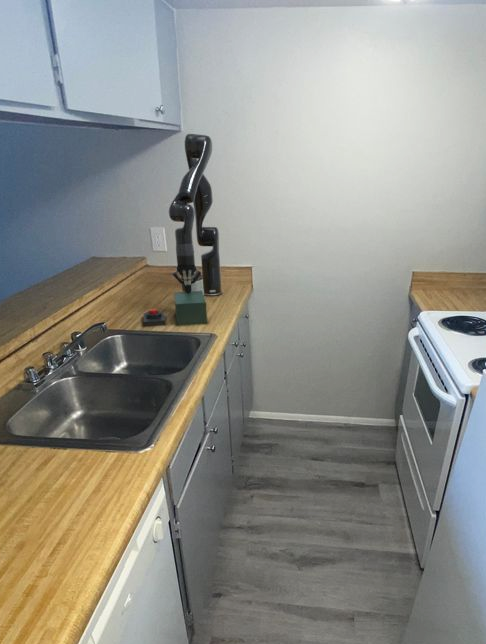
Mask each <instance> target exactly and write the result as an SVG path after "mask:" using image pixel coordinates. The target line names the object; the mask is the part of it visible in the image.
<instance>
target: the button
mask: <svg viewBox="0 0 486 644" xmlns="http://www.w3.org/2000/svg"><path fill="white" fill-rule="evenodd" d="M148 311H149V314H157V313H158V311H159V310H158V309H157V308H150V309H148Z"/></svg>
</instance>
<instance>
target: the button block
mask: <svg viewBox="0 0 486 644" xmlns="http://www.w3.org/2000/svg"><path fill="white" fill-rule="evenodd" d="M165 315H166V314H165V311H161V310H158V313H157V314H149V310H148V311H146V312H143V317H142V318H143V323H142V324H143V327H144V328H145V327H146V328H147V327H156V326H158V327H159V326H166V316H165Z"/></svg>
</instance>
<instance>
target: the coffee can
mask: <svg viewBox="0 0 486 644" xmlns="http://www.w3.org/2000/svg"><path fill="white" fill-rule="evenodd" d="M195 275H196V274H195V273H194V274H193V276H191V280H192V279H193V278H194V276H195ZM180 278H181V279H182V280H183V281H184V279H183V277H182V276H181V275H180ZM186 279H187V284H188V277H186ZM191 289H192V291H202V293H203V295H204V288H203V275H202V274H201V275H200V276H199V278H198V279H197V280H196V282H195V283H193V284H191ZM181 292H185V285H184V284H181ZM204 296H205V295H204Z"/></svg>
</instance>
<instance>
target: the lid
mask: <svg viewBox="0 0 486 644" xmlns="http://www.w3.org/2000/svg"><path fill="white" fill-rule="evenodd" d="M173 296H174V297H175V298H174V297H173V298H174V304H175V303H176V306H180V305H196V304H206V305H207V301H206V299H205V295H203V293H202V291H191V292H190V293H187V292H183V291H175V292H173Z"/></svg>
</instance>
